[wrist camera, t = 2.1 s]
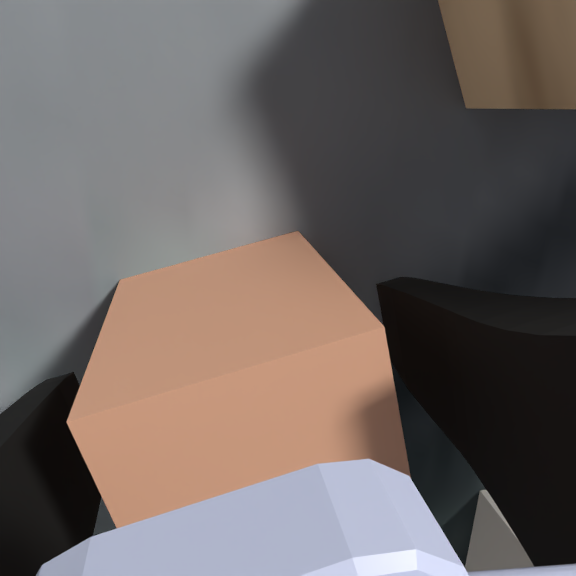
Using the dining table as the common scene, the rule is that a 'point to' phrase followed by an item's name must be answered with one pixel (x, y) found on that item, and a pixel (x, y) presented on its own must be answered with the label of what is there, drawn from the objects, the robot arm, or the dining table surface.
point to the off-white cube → (493, 540)
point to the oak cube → (513, 52)
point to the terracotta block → (232, 379)
